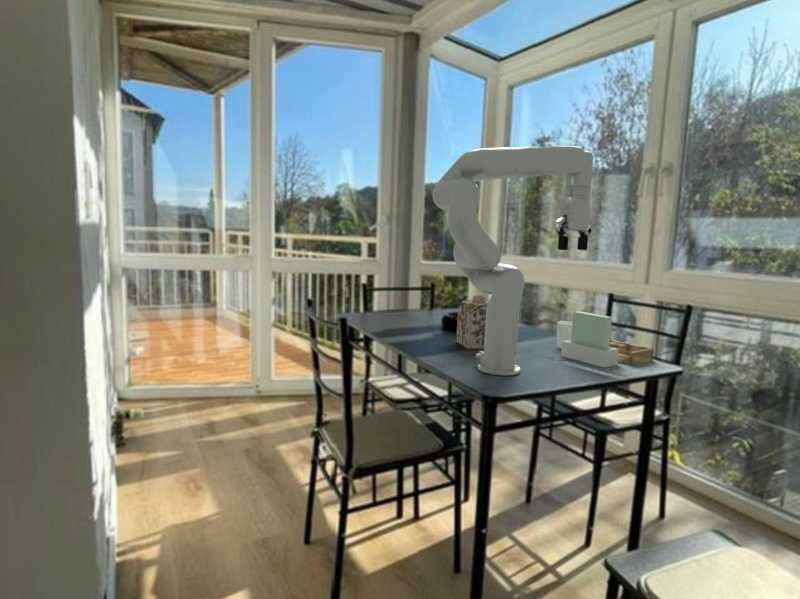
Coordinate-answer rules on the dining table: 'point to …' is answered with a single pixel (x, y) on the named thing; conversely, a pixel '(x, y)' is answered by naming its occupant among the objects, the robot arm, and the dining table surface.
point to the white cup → (563, 332)
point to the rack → (635, 354)
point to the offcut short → (618, 346)
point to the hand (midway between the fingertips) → (572, 249)
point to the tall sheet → (591, 330)
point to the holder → (590, 354)
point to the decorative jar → (472, 322)
